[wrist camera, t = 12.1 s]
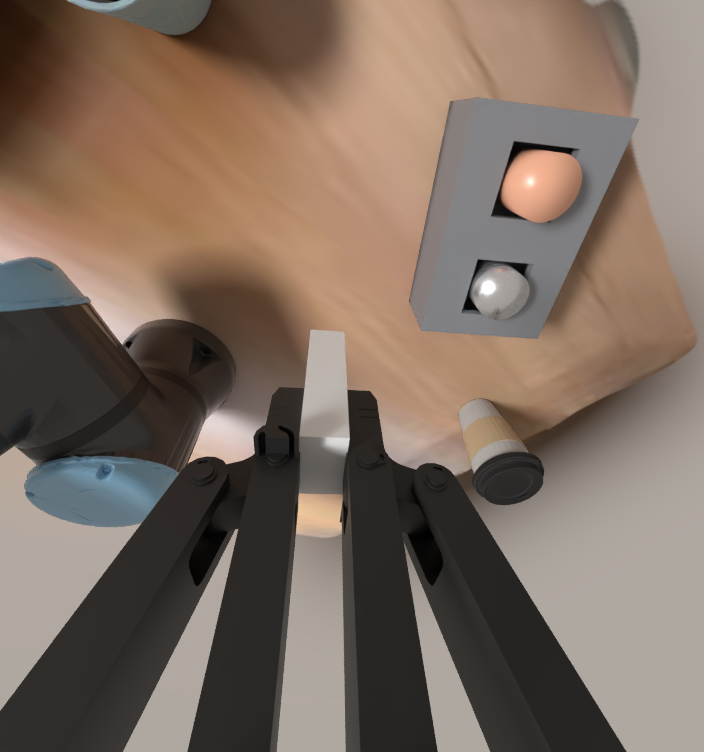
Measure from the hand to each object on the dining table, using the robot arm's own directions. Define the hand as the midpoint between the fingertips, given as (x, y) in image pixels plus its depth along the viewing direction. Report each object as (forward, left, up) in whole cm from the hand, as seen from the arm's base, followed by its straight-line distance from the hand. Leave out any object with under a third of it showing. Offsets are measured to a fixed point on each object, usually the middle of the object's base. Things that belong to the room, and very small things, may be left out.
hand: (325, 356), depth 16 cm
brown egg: (+6, -18, -26) cm, 32 cm away
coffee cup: (-28, -26, -30) cm, 48 cm away
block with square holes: (+1, -18, -29) cm, 34 cm away
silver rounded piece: (-4, -18, -26) cm, 32 cm away
